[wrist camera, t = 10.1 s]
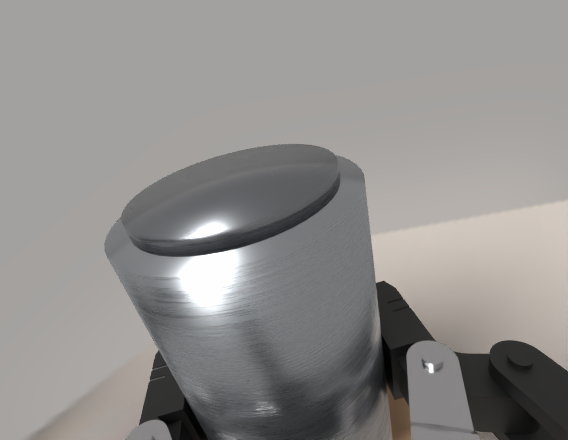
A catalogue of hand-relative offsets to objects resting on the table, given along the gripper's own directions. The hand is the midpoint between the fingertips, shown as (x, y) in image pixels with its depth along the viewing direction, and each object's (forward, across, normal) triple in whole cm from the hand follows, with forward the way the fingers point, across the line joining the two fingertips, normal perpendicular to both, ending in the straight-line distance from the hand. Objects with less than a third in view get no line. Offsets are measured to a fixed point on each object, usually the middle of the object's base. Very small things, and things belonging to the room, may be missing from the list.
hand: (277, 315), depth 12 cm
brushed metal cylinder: (-2, 0, +9) cm, 9 cm away
